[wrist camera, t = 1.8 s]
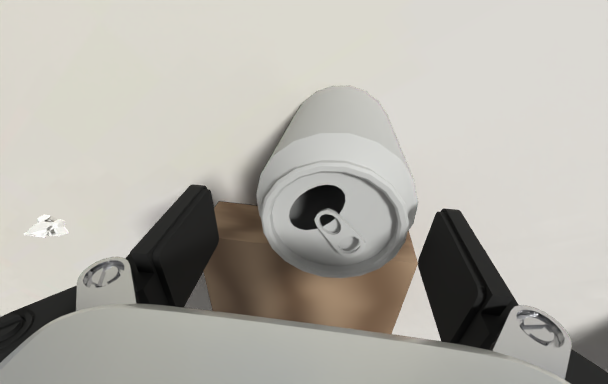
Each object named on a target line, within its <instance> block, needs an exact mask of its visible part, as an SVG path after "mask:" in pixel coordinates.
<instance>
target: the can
mask: <svg viewBox="0 0 608 384" xmlns="http://www.w3.org/2000/svg"><path fill="white" fill-rule="evenodd" d="M256 197H257V204H258V210H259V215H260V217H261V221H262V227H263V233H264V235H265V236H266V238H267V240H268V242H269V244H270V246H271V247H272V249H273V250H274V251H275V252H276V253H277V254H278V255H279V256H280V257H282V258H283V259H284V260H285V261H286V262H288V263H289V264H291V265H293V266H295V267H296V268H298V269H300V270H302V271H304V272H307V273H311V274H314V275H317V276H321V277H331V278H347V277H355V276H361V275H364V274H366V273H369V272H372V271H374V270H377V269H379V268H381V267H382V266H383V265H385V264H386V263H387V262H389V261H390V260H391V259H393V258H394V257H395V256H396V255H397V253H398V252H399V250H400V249H401V247H402V246H403V244H404V243H405V241H406V236H407V232H408V230H409V229H410V227H411V226H412V224H413V223H414V219H415V214H416V209H417V205H418V198H417V193H416V188H415V182H414V178H413V176H412V174H411V171H410V169H409V166H408V164H407V161H406V159H405V156H404V154H403V152H402V149H401V147H400V144H399V142H398V139H397V137H396V135H395V132H394V130H393V127H392V125H391V122H390V120H389V117H388V115H387V113H386V112H385V110H384V109H383V107H382V105H381V104H380V102H379V101H378V100H377V99H375V98H374V97H373V96H372V95H370V94H369V93H368V92H366V91H364V90H361V89H358V88H355V87H352V86H331V87H328V88H325V89H322V90H320V91H317V92H315V93H314V94H313V95H311V96H310V97H309V98H308V99H306V100H305V101H304V102H303V103H302V105H301V106H300V108H299V109H298V111H297V112H296V114H295V116H294V117H293V119H292V121H291V123H290V124H289V126H288V128H287V130H286V131H285V133H284V135H283V136H282V138H281V140H280V142H279V143H278V145H277V147H276V149H275V150H274V152H273V154H272V156H271V157H270V159H269V161H268V163H267V164H266V166H265V168H264V170H263V171H262V173H261V175H260V180H259V184H258V189H257V193H256Z"/></svg>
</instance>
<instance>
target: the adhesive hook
mask: <svg viewBox="0 0 608 384" xmlns="http://www.w3.org/2000/svg"><path fill="white" fill-rule="evenodd" d="M50 217H51V216H49V215H45V214H44V215H42V216H40V217H39V218H38V219H37V220H38V223H36V224H35V225H33V226H32V227H31V228H30V229H29V231H28V232H27V233H26V232H25V233H24V235H29V236H35V237H42V238H45V237H46V235H48V236H61V235H65V234H68V233H69V232H68V230H67V229H66V228H65V227H64V225H66V223H65V220H61V219H58V220H56V221H54V222H52V221H51V220H49V219H48V218H50Z"/></svg>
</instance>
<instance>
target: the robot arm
mask: <svg viewBox="0 0 608 384" xmlns="http://www.w3.org/2000/svg"><path fill="white" fill-rule="evenodd" d="M218 242H219V234H218V228H217V222H216V217H215V211H214V206H213V200H212V194H211V191H210V190H208V189H207V187H206V186H202V185H190V186H189V187H188V188H187V190H186V191H185V192H184V193H183V194H182V195H181V196H180V197H179V198H178V200H177V201H176V202H175V203H174V204H173V205H172V206H171V207H170V208H169V209H168V211H167V212H166V213H165V214H164V215H163V216H162V217H161V218H160V219H159V221H158V222H157V223H156V224H155V225H154V226H153V227H152V228H151V229H150V231H149V232H148V233H147V234H146V235H145V236H144V237H143V238H142V239H141V241H140V242H139V243H138V244H137V245H136V246H135V247H134V248H133V249H132V251H131V252H130V254H129V255H128V256H127V257H126V258H122V257H110V258H106V259H102V260H100V261H98V262H95V263H94V264H92V265H90V266H89V267H88V268H86V269H85V270H84V271H83V272H82V273H81V275H80V276H79V278H78V281H77V286H75V287H72V288H70V289H67V290H65V291H62V292H60V293H57V294H55V295H52V296H50V297H47V298H45V299H42V300H40V301H37V302H35V303H32V304H30V305H28V306H25V307H23V308H20V309H18V310H15V311H13V312H10V313H8V314H6V315H4V316H2V317H0V384H608V373H607V372H606V371H604V370H603V369H601V368H600V367H598V366H597V365H595V364H594V363H592V362H590V361H589V360H587V359H586V358H584V357H583V356H581V355H580V354H578V353H577V352H575V351H574V350H572V349H571V347H572V344H571V339H570V336H569V334H568V332H567V331H566V330H565V329H564V327H563V326H562V325H561V324H560V323H559V322H558V321H556V320H555V319H554V318H553V317H551V316H550V315H548V314H547V313H545V312H543V311H541V310H539V309H537V308H534V307H531V306H527V305H518V303H517V302H516V300H515V299H514V297H513V295H512V294H511V292H510V290H509V289H508V287H507V286H506V284H505V282H504V281H503V279H502V277H501V276H500V274H499V273H498V271H497V269H496V268H495V266H494V264H493V263H492V261H491V260H490V258H489V256H488V255H487V253H486V252H485V250H484V249H483V247H482V245H481V244H480V242H479V240H478V239H477V237H476V236H475V234H474V232H473V231H472V229H471V228H470V226H469V224H468V223H467V221H466V219H465V218H464V216H463V215H462V213H461V212H460V210H453V209H442V210H441V212H437V213H436V215H435V217H434V220H433V223H432V225H431V228H430V231H429V233H428V236H427V238H426V241H425V244H424V246H423V249H422V252H421V254H420V257H419V260H418V267H419V270H420V274H421V277H422V280H423V283H424V287H425V290H426V293H427V296H428V299H429V303H430V306H431V309H432V312H433V316H434V319H435V322H436V325H437V328H438V332H439V335H440V338H441V341H442V342H441V341H434V340H428V339H421V338H415V337H407V336H400V335H393V334H385V333H378V332H371V331H363V330H356V329H349V328H341V327H334V326H326V325H319V324H311V323H304V322H296V321H288V320H281V319H273V318H265V317H257V316H249V315H242V314H234V313H226V312H218V311H210V310H202V309H193V308H184V306H185V304H186V302H187V300H188V299H189V297H190V295H191V293H192V291H193V289H194V287H195V286H196V284H197V282H198V280H199V278H200V276H201V275H202V273H203V271H204V269H205V267H206V265H207V264H208V262H209V260H210V258H211V256H212V254H213V253H214V251H215V249H216V247H217V245H218Z"/></svg>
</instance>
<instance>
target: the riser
mask: <svg viewBox="0 0 608 384" xmlns="http://www.w3.org/2000/svg"><path fill="white" fill-rule="evenodd" d="M214 211H215V217H216V222H217V228H218V234H219V242H218V245H217V247H216V249H215V251H214V253H213V254H212V256H211V258H210V260H209V262H208V264H207V265H206V267H205V269H204V276H205V280H206V284H207V288H208V293H209V297H210V301H211V305H212V310H213V311H218V312H226V313H234V314H242V315H249V316H257V317H265V318H273V319H281V320H288V321H296V322H304V323H311V324H319V325H326V326H334V327H341V328H349V329H356V330H363V331H371V332H378V333H385V334H391V333H392V331H393V328H394V325H395V323H396V320H397V318H398V315H399V312H400V310H401V307H402V304H403V302H404V299H405V296H406V294H407V291H408V288H409V286H410V283H411V280H412V278H413V275H414V273H415V270H416V267H417V265H418V262H417V259H416V255H415V252H414V248H413V245H412V241H411V238H410V234H409V231H408V232H407V236H406V241H405V243H404V244H403V246H402V247H401V249H400V250H399V252H398V253H397V255H396V256H395V257H394V258H393V259H391V260H390V261H389V262H387V263H386V264H385V265H383V266H382V267H381V268H379V269H377V270H374V271H372V272H369V273H366V274H364V275H361V276H355V277H347V278H331V277H321V276H317V275H314V274H311V273H307V272H304V271H302V270H300V269H298V268H296V267H295V266H293V265H291V264H289V263H288V262H286V261H285V260H284V259H283V258H282V257H280V256H279V255H278V254H277V253H276V252H275V251H274V250H273V249H272V247H271V246H270V244H269V242H268V240H267V238H266V236H265V235H264V233H263V227H262V221H261V217H260V215H259V210H258V206H255V205H246V204H238V203H229V202H220V201H219V202H218V204H217V205H216V206H215V208H214Z"/></svg>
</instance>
